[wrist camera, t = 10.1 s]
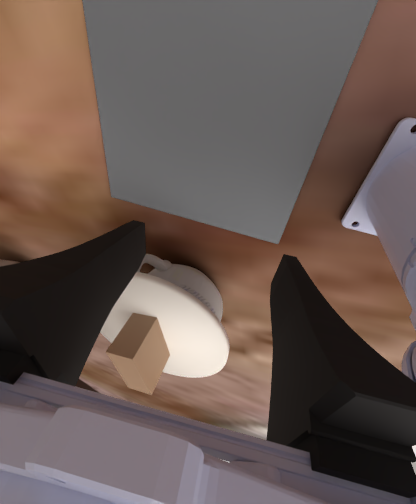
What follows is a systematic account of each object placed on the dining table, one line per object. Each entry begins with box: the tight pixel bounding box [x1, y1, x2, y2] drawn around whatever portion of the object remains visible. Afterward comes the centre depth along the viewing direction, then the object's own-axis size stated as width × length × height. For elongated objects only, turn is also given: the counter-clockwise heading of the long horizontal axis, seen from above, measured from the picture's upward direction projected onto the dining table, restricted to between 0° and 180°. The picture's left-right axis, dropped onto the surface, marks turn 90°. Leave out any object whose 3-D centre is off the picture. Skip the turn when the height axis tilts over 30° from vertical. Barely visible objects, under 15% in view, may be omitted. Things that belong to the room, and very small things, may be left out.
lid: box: [100, 272, 230, 395], centre depth 22 cm, size 15×15×5 cm
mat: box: [82, 0, 378, 244], centre depth 18 cm, size 18×17×1 cm
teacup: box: [137, 254, 223, 322], centre depth 26 cm, size 14×11×8 cm
